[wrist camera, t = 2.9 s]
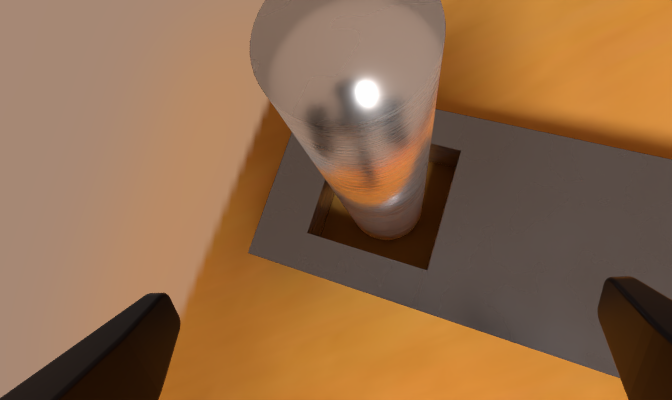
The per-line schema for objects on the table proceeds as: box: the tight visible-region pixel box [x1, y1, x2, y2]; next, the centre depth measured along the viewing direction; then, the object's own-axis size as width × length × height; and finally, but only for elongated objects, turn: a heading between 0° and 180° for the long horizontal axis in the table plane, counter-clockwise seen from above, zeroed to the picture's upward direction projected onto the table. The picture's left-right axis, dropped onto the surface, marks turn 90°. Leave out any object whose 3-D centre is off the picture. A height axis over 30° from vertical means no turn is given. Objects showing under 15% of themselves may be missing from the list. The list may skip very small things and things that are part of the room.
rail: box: [248, 109, 672, 378], centre depth 17 cm, size 33×9×3 cm, turn 72°
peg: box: [250, 0, 446, 240], centre depth 14 cm, size 4×4×14 cm
